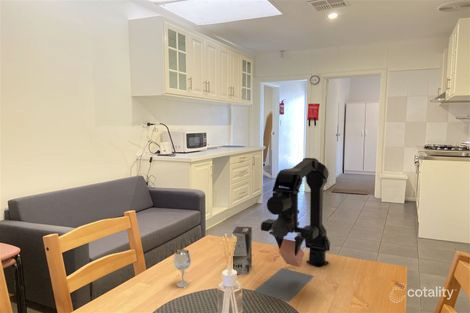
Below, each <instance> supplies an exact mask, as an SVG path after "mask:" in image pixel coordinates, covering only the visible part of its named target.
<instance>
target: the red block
mask: <svg viewBox="0 0 470 313" xmlns="http://www.w3.org/2000/svg"><path fill="white" fill-rule="evenodd" d="M278 253H279V255H280V256H281V257H282V259H283V260H284V262H285V263H286V264H287V265H290V266H294V267H298V268H301V265H302V262H303V259H304V256H305V252H304V251H303V249H302V246H301V247H300V250H299V252H298V254H297V255H296V256H295V240H293V239H287V238H284V239H283V241H282V244H281V247H280V250H279V249H278Z"/></svg>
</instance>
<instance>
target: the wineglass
mask: <svg viewBox="0 0 470 313" xmlns="http://www.w3.org/2000/svg"><path fill="white" fill-rule="evenodd" d="M191 262H192V261H191V254H190V251H189V250H188V249H177V250H176V251H175V252H174V258H173V264H174V267H175V269H177V270H180V271H181V272H180V273H181V274H180V275H181V281H179V282H177V283H176V286H177V288H187V287H189V286H190V283H189V282H188V281H184V276H185V271H184V270H187V269H189V267H190V266H191Z"/></svg>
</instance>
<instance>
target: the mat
mask: <svg viewBox="0 0 470 313" xmlns="http://www.w3.org/2000/svg"><path fill="white" fill-rule="evenodd" d="M314 277H315V275H312V274H308V273H304V272H300V271H296V270H292V269H288V268H284V267H281V268H280V269H279V270H278V271H277V272H275V273H274V274H272V275H271V276H270V277H269V278H268V279H267V280H265V281H264V282H263V283H262V284H260V285H259V286H257V288H255V289H254V290H253V292H255V293H259V294H260V295H265V296H268V297H270V298H271V297H272V298H274V299H278V300H281V301H284V302H288V303H290V301H291V300H293V298H294V297H296V296H297V295H298V294H299V292H300V291H301V290H302V289H303V288H304V287H305V286H306V285H307V284H308V283H309V282H310V281H311V280H312V279H313V278H314Z"/></svg>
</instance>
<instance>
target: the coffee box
mask: <svg viewBox="0 0 470 313" xmlns="http://www.w3.org/2000/svg"><path fill="white" fill-rule="evenodd" d="M252 231H253V230H252V227H251V226H236V227H235V228H234V230H233V232H232V233H231V235H232V234H233V235H235V236H236V237H237V242H236V245H235V250H234V256H233V269H234V270H236V271H237V274H238V275H239V276H240V275H242V276H244V275H245V276H246V275H247V276H248V275H249V274H250V272H251V269H252V267H253V265H252V264H253V262H252V261H253V259H252V258H253V257H252V256H253V252H252V251H253V248H252V246H253V244H252V240H253V237H252V236H253V235H252V233H253V232H252Z"/></svg>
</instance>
